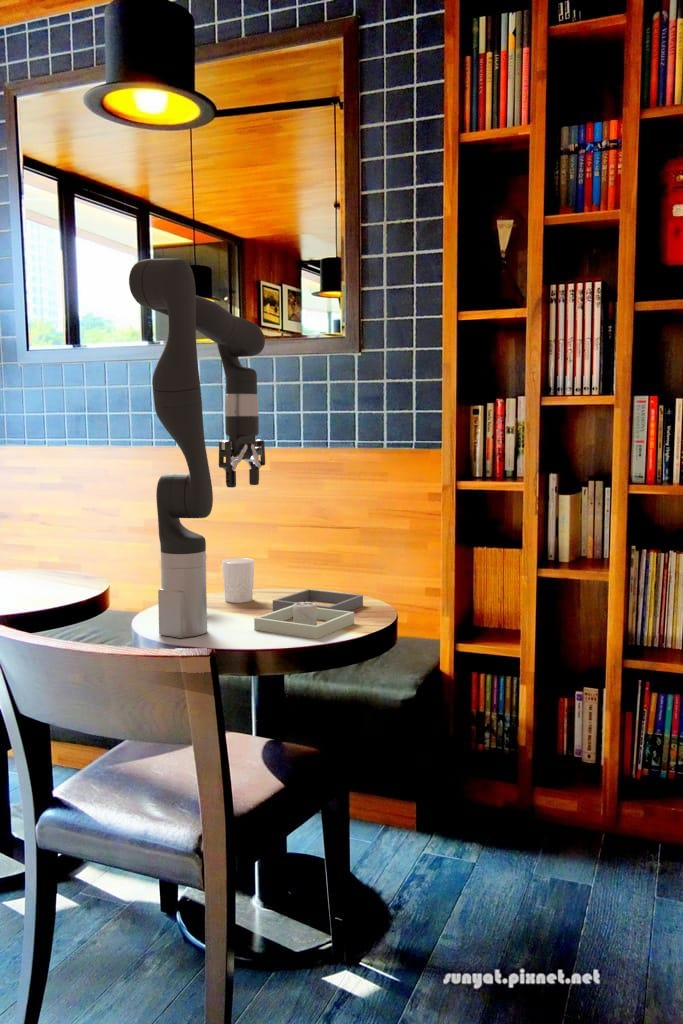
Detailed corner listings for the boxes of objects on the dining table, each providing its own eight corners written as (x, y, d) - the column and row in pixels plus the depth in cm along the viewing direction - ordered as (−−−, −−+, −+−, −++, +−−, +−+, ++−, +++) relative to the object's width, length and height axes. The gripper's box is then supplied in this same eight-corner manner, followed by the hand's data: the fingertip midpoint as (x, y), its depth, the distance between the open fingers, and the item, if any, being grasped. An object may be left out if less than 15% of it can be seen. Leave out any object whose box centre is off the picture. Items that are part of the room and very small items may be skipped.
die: (316, 629, 175) (316, 606, 174) (293, 630, 174) (293, 606, 174) (316, 624, 180) (316, 601, 179) (293, 624, 179) (293, 601, 179)
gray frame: (330, 618, 185) (330, 607, 184) (272, 610, 192) (272, 600, 192) (362, 605, 198) (362, 595, 198) (308, 599, 206) (308, 589, 206)
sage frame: (317, 639, 166) (317, 626, 166) (254, 629, 174) (254, 618, 174) (354, 623, 180) (354, 612, 180) (294, 615, 188) (294, 604, 187)
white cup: (256, 597, 208) (256, 558, 207) (252, 603, 200) (252, 563, 199) (225, 597, 208) (225, 558, 207) (220, 603, 200) (219, 563, 200)
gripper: (235, 414, 178) (236, 489, 179) (273, 414, 190) (274, 484, 192) (208, 414, 182) (210, 487, 183) (247, 415, 194) (248, 483, 195)
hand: (243, 486), depth 187 cm, fingers open, 8 cm apart
